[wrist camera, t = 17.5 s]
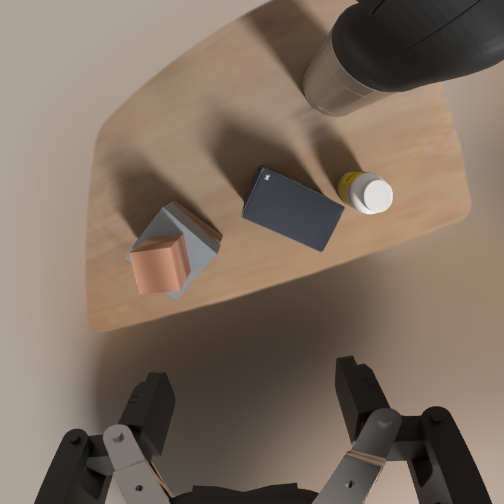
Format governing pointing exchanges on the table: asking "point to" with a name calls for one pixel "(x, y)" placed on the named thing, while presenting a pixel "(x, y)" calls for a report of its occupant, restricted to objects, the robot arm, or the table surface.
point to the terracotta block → (161, 264)
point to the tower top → (196, 240)
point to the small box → (291, 209)
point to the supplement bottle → (365, 192)
